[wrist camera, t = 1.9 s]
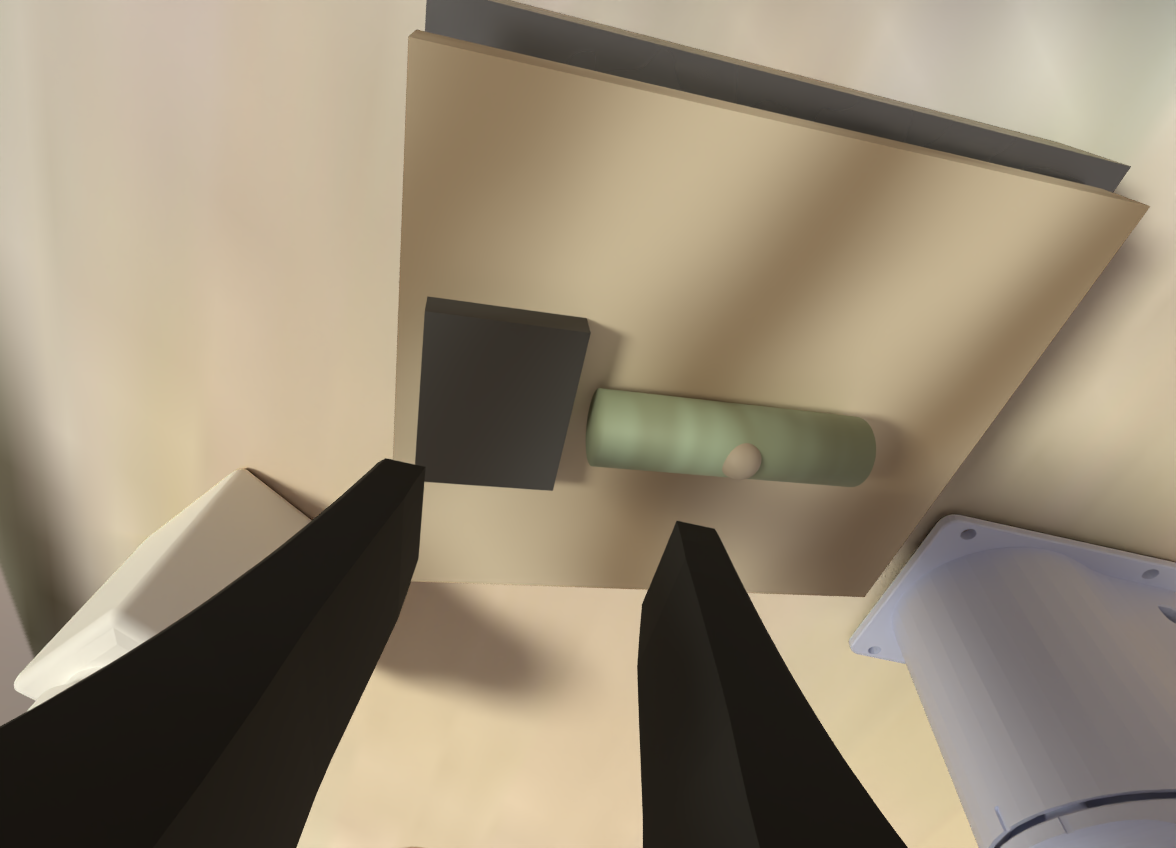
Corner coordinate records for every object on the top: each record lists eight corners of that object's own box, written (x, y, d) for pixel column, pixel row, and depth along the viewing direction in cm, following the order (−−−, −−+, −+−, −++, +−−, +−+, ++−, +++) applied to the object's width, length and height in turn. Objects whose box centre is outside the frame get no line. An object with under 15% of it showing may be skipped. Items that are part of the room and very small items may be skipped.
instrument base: (1059, 143, 15) (1131, 166, 13) (831, 516, 22) (851, 572, 20) (461, -13, 14) (427, -16, 12) (427, 428, 22) (403, 477, 19)
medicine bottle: (148, 535, 26) (-156, 858, 16) (243, 461, 23) (-53, 797, 13) (283, 626, 29) (97, 946, 19) (382, 570, 26) (224, 912, 16)
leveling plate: (1101, 188, 13) (1242, 239, 10) (846, 566, 20) (896, 650, 17) (415, 29, 10) (391, 51, 7) (394, 545, 17) (377, 644, 14)
